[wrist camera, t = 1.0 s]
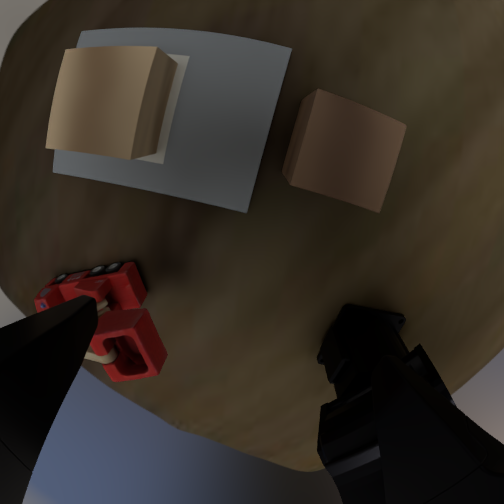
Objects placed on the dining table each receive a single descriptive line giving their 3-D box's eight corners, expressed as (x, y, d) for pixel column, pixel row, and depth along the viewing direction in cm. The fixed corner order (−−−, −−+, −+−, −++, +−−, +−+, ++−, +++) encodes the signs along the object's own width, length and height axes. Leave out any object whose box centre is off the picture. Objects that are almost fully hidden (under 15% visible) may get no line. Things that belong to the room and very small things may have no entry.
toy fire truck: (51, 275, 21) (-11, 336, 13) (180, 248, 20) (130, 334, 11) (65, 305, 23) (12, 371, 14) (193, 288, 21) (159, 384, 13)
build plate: (290, 53, 15) (292, 48, 14) (247, 209, 19) (246, 213, 18) (88, 34, 13) (81, 31, 12) (60, 169, 18) (52, 172, 17)
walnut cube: (371, 125, 16) (406, 125, 12) (350, 192, 18) (379, 213, 14) (301, 99, 16) (317, 88, 11) (281, 171, 18) (290, 185, 13)
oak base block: (178, 63, 14) (157, 46, 10) (156, 153, 16) (130, 160, 13) (98, 60, 14) (66, 49, 10) (80, 142, 16) (45, 148, 12)
